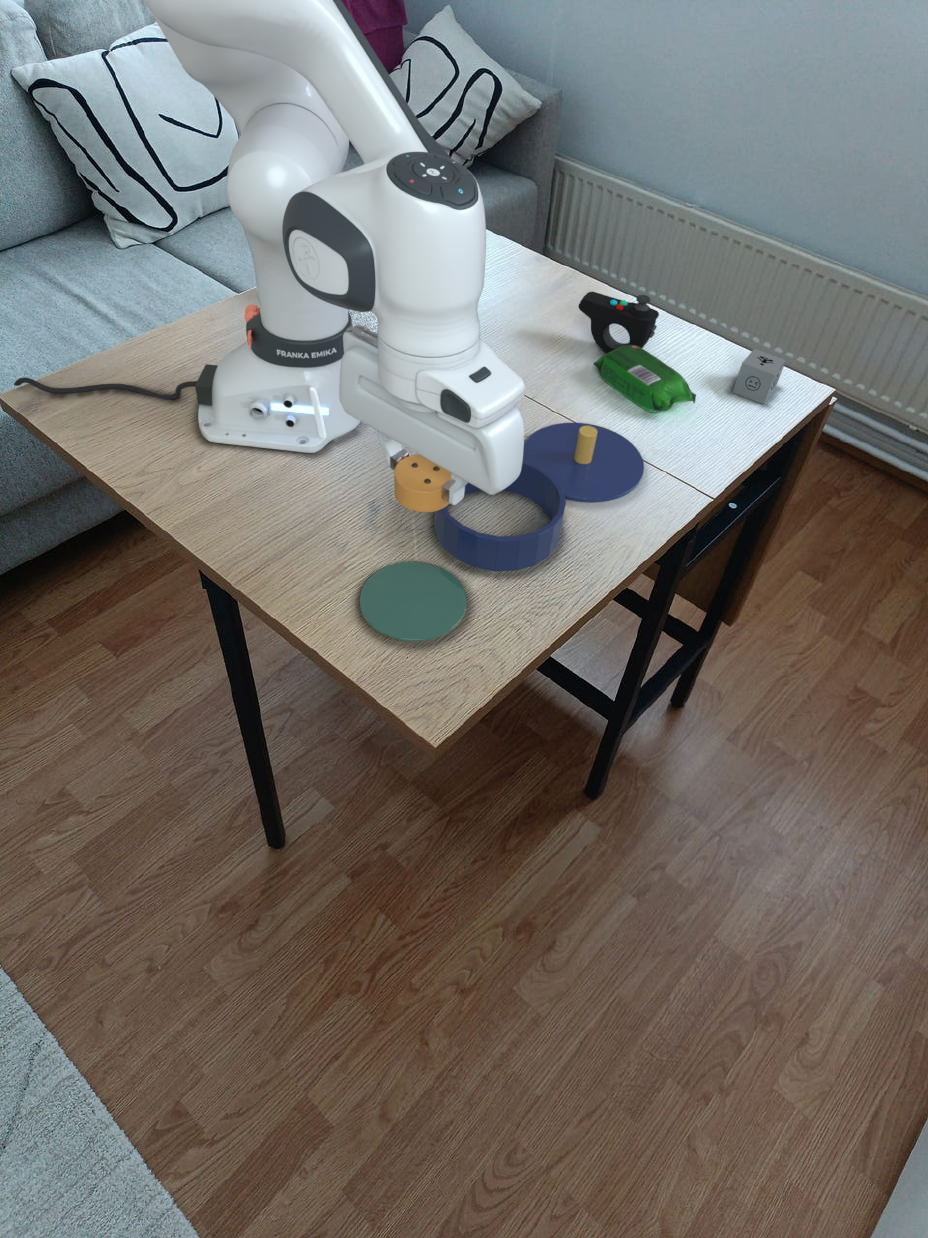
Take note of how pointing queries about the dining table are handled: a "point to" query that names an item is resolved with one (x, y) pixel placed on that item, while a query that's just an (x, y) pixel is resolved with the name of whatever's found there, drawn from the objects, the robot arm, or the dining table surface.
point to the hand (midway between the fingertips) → (425, 483)
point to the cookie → (420, 484)
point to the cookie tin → (508, 549)
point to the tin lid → (586, 460)
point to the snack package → (643, 378)
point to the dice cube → (758, 376)
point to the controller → (619, 319)
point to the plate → (413, 601)
